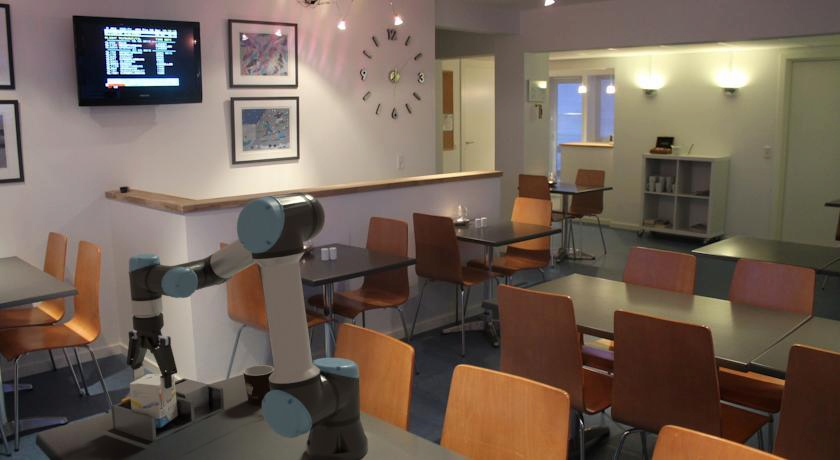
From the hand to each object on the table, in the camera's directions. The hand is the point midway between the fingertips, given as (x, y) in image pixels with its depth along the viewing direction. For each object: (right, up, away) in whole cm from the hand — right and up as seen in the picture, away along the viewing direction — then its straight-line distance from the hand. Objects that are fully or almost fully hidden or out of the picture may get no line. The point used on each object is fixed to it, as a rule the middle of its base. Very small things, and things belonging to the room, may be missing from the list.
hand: (153, 395), depth 194 cm
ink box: (0, -7, +1) cm, 7 cm away
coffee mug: (+25, -7, +17) cm, 31 cm away
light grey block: (+6, -7, +11) cm, 14 cm away
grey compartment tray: (+2, -8, +6) cm, 11 cm away
